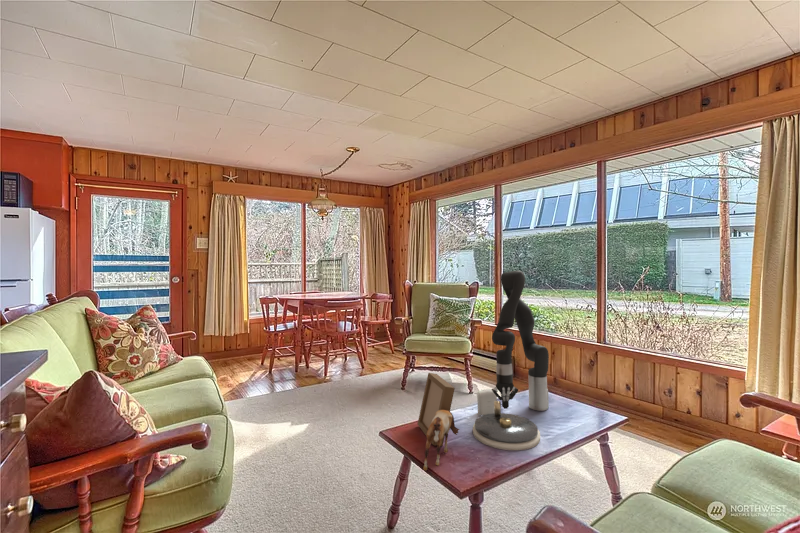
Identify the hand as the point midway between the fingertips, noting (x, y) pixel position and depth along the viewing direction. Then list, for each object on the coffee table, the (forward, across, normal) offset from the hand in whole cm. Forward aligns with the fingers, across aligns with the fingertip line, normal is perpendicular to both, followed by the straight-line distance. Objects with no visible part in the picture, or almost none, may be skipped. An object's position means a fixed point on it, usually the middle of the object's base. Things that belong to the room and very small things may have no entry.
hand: (505, 408), depth 178 cm
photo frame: (+7, +33, +9) cm, 35 cm away
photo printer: (+7, +5, -12) cm, 15 cm away
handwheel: (+4, +4, +12) cm, 14 cm away
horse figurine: (+7, +35, +30) cm, 47 cm away
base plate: (+7, +4, +12) cm, 15 cm away
